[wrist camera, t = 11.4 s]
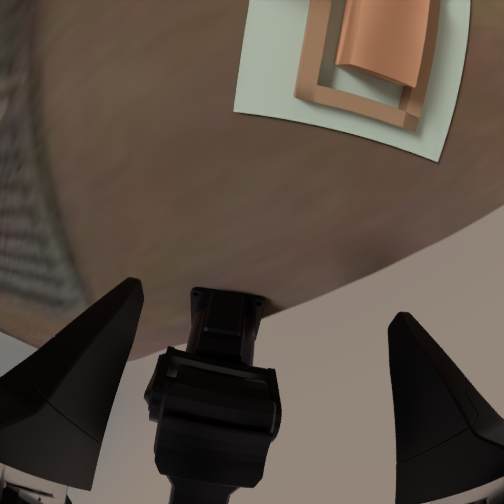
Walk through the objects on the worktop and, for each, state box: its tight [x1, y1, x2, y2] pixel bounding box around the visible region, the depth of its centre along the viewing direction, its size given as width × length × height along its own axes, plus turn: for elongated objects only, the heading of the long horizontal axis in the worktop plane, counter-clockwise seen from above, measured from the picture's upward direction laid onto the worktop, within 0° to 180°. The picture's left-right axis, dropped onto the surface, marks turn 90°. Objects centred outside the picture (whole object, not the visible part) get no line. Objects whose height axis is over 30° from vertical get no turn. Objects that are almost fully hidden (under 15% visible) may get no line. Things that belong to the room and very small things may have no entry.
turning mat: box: [234, 0, 470, 162], centre depth 10 cm, size 16×14×2 cm
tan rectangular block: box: [334, 0, 430, 88], centre depth 9 cm, size 4×8×4 cm, turn 172°
